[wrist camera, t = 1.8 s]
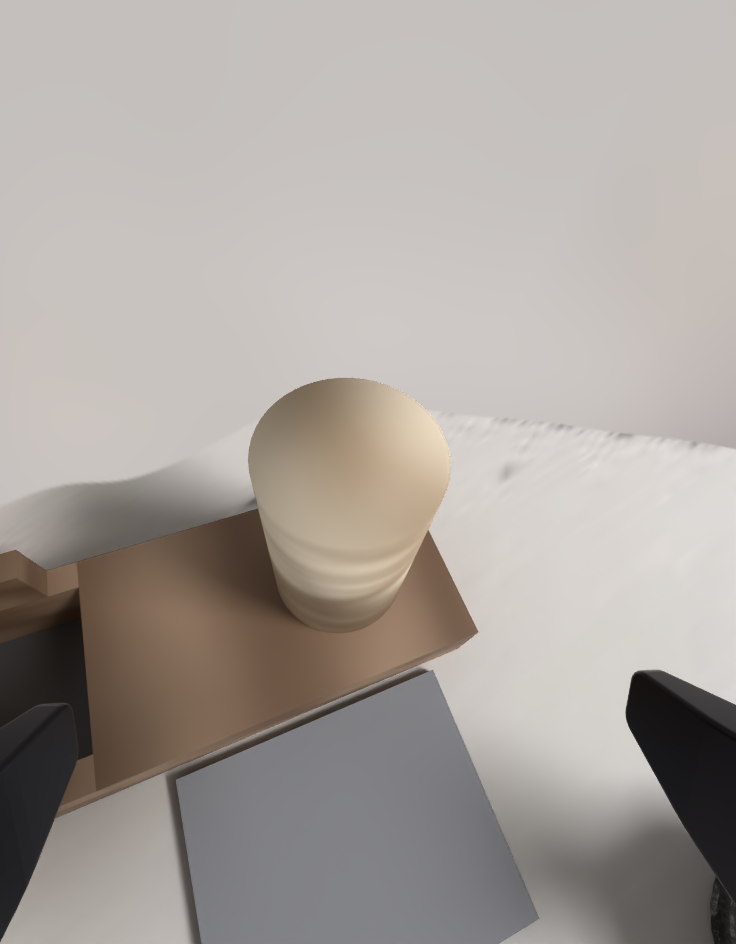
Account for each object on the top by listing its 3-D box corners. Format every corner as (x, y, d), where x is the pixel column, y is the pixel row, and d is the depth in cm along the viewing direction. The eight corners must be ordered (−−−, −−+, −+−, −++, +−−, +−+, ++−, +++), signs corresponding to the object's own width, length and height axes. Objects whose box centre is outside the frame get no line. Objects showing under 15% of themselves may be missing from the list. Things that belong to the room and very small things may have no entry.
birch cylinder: (324, 662, 16) (328, 592, 9) (251, 556, 18) (209, 433, 11) (426, 581, 18) (492, 473, 11) (350, 492, 20) (367, 352, 13)
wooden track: (389, 499, 23) (405, 441, 19) (457, 648, 20) (496, 618, 15) (-369, 735, 16) (-625, 728, 11) (-473, 1040, 12) (-893, 1190, 8)
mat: (430, 671, 19) (432, 669, 19) (534, 914, 15) (538, 918, 15) (178, 779, 16) (175, 779, 16) (230, 1104, 13) (228, 1113, 12)
